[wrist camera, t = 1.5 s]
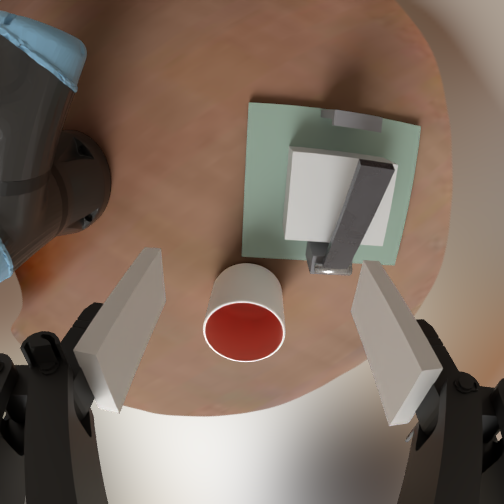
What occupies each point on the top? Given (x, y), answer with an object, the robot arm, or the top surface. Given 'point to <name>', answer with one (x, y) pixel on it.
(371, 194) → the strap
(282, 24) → the top surface
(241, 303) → the cup
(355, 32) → the top surface
